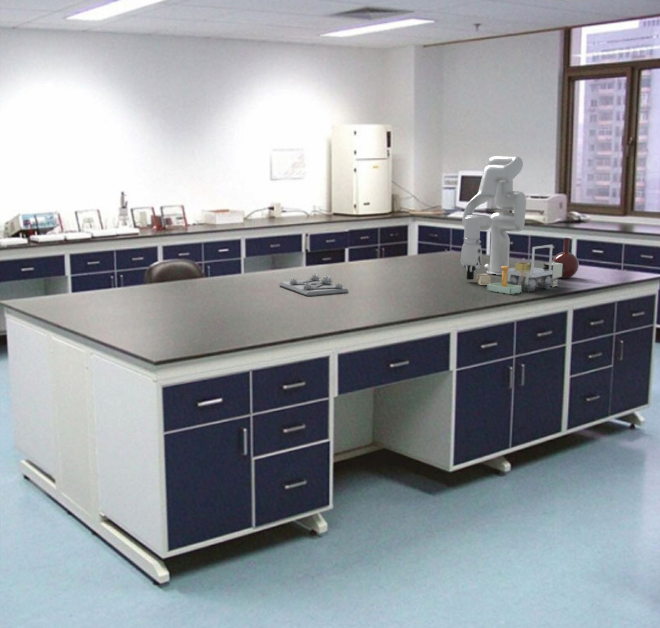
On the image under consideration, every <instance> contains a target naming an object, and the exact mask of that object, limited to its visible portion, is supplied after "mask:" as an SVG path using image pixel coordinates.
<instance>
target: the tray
mask: <svg viewBox="0 0 660 628" xmlns="http://www.w3.org/2000/svg"><path fill="white" fill-rule="evenodd" d="M522 290H523V288H522V286H521V285H511V284H507V287H502V282H499V281H498V282H492V283H491V284H487V286H486V291H487V292H491V291H493V293H497V292H499V293H498V294H503V293H505V295H509V294H512V295H516V294H515V293H517V294H521V293H522ZM520 292H521V293H520Z"/></svg>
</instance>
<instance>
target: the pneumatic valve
mask: <svg viewBox="0 0 660 628" xmlns="http://www.w3.org/2000/svg"><path fill="white" fill-rule="evenodd" d="M542 269H549V263H544V264H543V267H542ZM551 270H553V273H552V274H551V275H549V276H550V277H551V280H552V283H551V286H552V287H551V288H556V287H555V286H557V287H558V282H559V281H558V278H560V277H562V276H563V272H564V267H563V264H562V263H555V262H554V261H553V263H552V265H551Z"/></svg>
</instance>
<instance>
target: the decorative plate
mask: <svg viewBox="0 0 660 628" xmlns="http://www.w3.org/2000/svg"><path fill="white" fill-rule="evenodd" d="M321 277H322V278H321ZM321 277H320V275H319V274H313V273H311V275H310V276H309V278H310V279H301V280H298V278H295V277H291V278H290V279H289V280H288V281H281V282H280V283H278V285H279V287H281V288H284V289H286V290H290V291H292V292H295V293H298V294H300V295H304V296H306V297H316V296H329V295H338V294H347V293H348V292H349V289H348V288H346V287H344V285H343V283H341V282H336V283H333V281H334V279H332V278H333V277H331V276H329V275H328V274H326V275H322V276H321Z"/></svg>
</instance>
